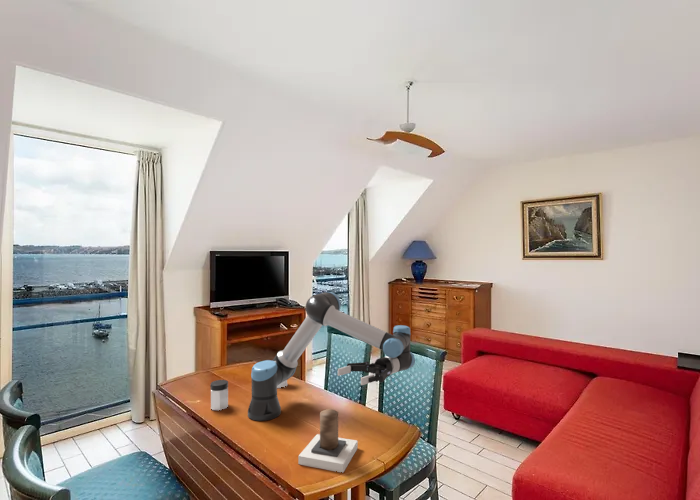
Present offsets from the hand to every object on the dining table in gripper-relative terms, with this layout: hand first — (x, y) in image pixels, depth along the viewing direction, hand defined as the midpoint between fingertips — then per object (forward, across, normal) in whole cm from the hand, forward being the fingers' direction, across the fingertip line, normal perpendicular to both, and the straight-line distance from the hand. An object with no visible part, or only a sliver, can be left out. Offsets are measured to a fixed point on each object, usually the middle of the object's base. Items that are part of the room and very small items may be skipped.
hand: (349, 376), depth 149 cm
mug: (-14, +76, -29) cm, 82 cm away
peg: (+10, 0, -27) cm, 29 cm away
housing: (+10, 0, -28) cm, 29 cm away
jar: (+22, +70, -29) cm, 79 cm away
